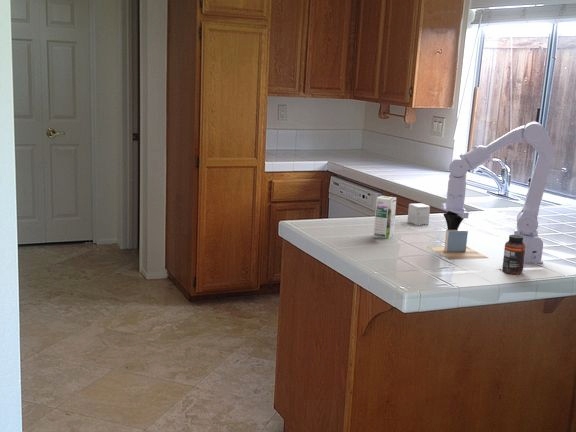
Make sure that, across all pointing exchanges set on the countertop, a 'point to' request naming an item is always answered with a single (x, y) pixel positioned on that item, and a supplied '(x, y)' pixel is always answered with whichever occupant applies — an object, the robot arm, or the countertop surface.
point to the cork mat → (458, 253)
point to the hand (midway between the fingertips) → (452, 234)
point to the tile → (455, 240)
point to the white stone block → (418, 214)
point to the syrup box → (384, 216)
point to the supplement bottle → (514, 255)
